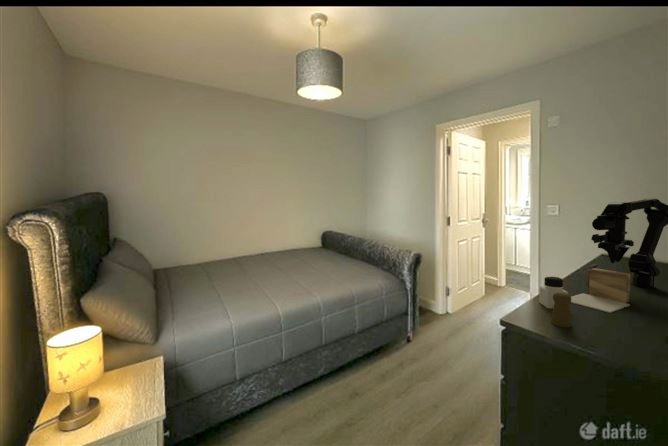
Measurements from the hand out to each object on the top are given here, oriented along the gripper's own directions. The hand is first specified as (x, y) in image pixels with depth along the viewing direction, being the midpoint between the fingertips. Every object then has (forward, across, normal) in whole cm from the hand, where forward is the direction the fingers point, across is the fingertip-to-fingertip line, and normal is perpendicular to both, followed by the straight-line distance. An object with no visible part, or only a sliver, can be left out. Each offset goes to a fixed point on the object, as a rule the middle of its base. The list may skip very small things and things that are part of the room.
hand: (615, 262), depth 136 cm
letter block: (+13, +17, +5) cm, 22 cm away
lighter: (+13, -2, -9) cm, 16 cm away
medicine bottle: (+13, +46, -2) cm, 48 cm away
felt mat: (+13, +28, +5) cm, 31 cm away
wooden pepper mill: (+13, +62, +9) cm, 64 cm away
